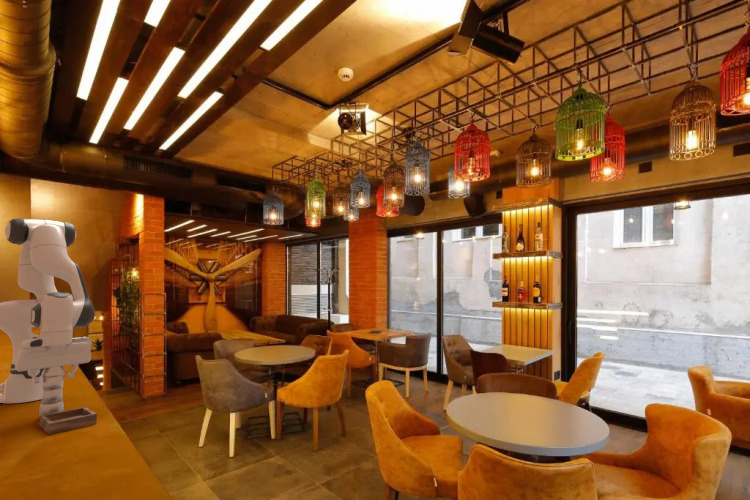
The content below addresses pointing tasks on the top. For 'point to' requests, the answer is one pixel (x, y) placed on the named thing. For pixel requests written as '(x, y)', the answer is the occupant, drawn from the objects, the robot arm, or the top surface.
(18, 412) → the top surface
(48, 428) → the walnut tray
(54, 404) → the silver metal bottle
